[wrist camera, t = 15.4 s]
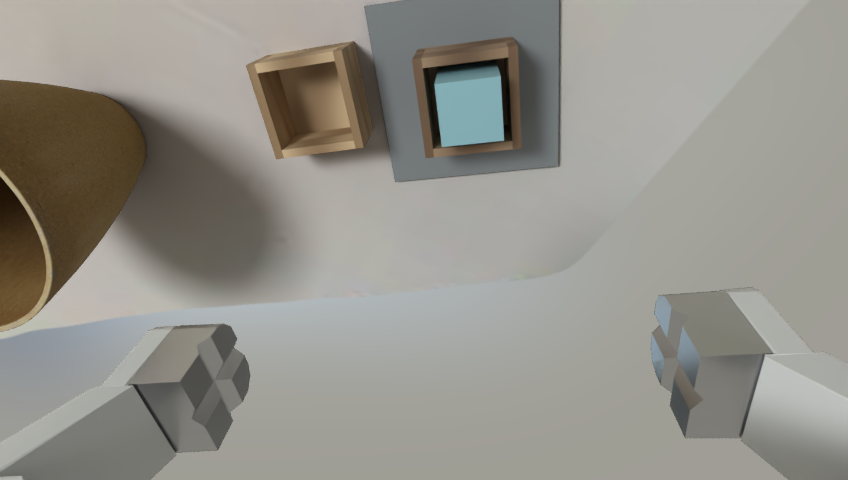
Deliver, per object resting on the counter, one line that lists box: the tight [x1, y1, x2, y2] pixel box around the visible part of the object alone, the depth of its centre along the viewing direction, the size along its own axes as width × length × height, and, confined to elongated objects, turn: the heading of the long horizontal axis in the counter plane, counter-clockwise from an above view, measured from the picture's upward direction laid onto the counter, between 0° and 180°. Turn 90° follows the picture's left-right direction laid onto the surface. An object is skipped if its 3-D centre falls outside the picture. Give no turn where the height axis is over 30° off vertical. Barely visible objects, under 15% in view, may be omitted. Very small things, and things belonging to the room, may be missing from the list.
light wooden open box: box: [246, 41, 373, 159], centre depth 35 cm, size 7×7×4 cm
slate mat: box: [364, 0, 559, 182], centre depth 35 cm, size 13×13×1 cm
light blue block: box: [434, 60, 504, 147], centre depth 32 cm, size 4×4×6 cm
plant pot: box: [0, 80, 146, 332], centre depth 32 cm, size 15×15×16 cm
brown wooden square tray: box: [412, 37, 521, 158], centre depth 33 cm, size 7×7×4 cm
